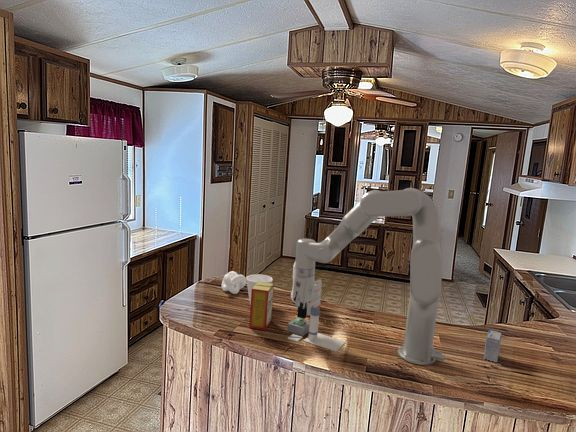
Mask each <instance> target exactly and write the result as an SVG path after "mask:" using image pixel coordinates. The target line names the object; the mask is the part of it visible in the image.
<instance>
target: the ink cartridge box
mask: <svg viewBox="0 0 576 432" xmlns="http://www.w3.org/2000/svg"><path fill="white" fill-rule="evenodd" d="M322 281H323V280H322V279H317V280H315V295H314V298H313V299H311V300H310V301H308V307H306V308H307V316H308V317H310V310H311V308H314V307H315V308H319V309H320V308H321V301H322V300H321V297H322V288H323V287H322V286H323V285H322ZM320 310H321V309H320Z"/></svg>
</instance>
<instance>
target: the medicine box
mask: <svg viewBox="0 0 576 432" xmlns="http://www.w3.org/2000/svg"><path fill="white" fill-rule="evenodd" d="M502 337H503V334H502V333H501V332H498V331H496V330H492V329H491V330H488V333H487V335H486V339H485V346H484V352H483V360H485V359H487V360H486V361H488V360H490V361H489V362H491V361H494V362H493V363H495V362H497V363H498V360H499V355H500V348H501V343H502V342H501V340H502Z"/></svg>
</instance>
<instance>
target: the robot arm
mask: <svg viewBox="0 0 576 432" xmlns="http://www.w3.org/2000/svg"><path fill="white" fill-rule="evenodd" d="M408 216H409V217H410V216H411V217H412V247H411V251H410V255H409V257H410V258H409V260H410V261H409V266H410V267H409V273H410V274H409V275H410V276H409V277H410V278H409V281H410V282H409V285H410V286H409V289H410V293H409V299H408V305H407V306H408V307H407V314H406V321H405V322H406V323H405V332H404V337H403V338H404V339H403V345H401V346H400V347H399V348H397V349H398V350H397V352H398V356H399V357H400V359H402V360H404V361H406V362H409V363H410V364H414V365H419V366H429V365H432V364H434V363H435V362H436V359H437V360H439V361H443V362H445V359H446V355H445V354H443V351H440V350H436V349H435V345H434V338H435V337H434V335H435V329H436V321H437V316H438V307H439V301H440V298H441V296H442V285H443V284H442V282H443V281H442V279H443V277H442V276H443V273H442V271H443V269H442V268H443V263H442V262H443V259H442V257H443V256H442V250H441V243H440V242H441V241H440V237H441V235H440V232H441V231H440V216H439V211H438V208H437V205H436V204H435V202H434V200H433V199H432V198H431V196H429V195H428V194H427V193H425V192H423V191H421V189H420V190H419V189H417V188H414V187H407V188H404V189H399V190H398V189H397V190H379V189H372V190H369V191H367V192H365V193H364V194H363V195H362V196H361V198H360V200H359V201H358V202H357V203H356V204H355V205H354V206H353V207H352V208H351V209H350V210H349V211H348V212H347V213H346V214H345V215H344V216H343V217H342V219H341V221H340V223H339V224H338V226H337V227H336V228H335V229H334V230H333V231H331V233H330V234H328V236H327V237H326V238H325V239H323V240H322V241H321V242H317V241H315V240H314V239H312V238H300V239H298V240H297V241H296V246H295V247H296V249H295V261H296V262H295V261H294V263H295V282H294V289H293V288H292V289H293V300H292V302H293V301H296V302H294V306H295V307H296V308H297V317H296V318H303V319H304V320H305V319H306V318H307V316H308V315H307V308H306V307H308V301H310V300H311V299H313V298H314V295H315V281H316V280H315V279H316V278H315V275H316V274H315V273H316V272H315V271H316V270H315V269H316V263H317V262H318V263H320V264H328V263H330V262H331V261H332V260H334V259H335V257H336V256H337V255H338V254H339V253H340V252H342V250H344V249H345V248H346V247H347V246H348V245H349V244H350V243H351V242H352V241H353V240H354V239H355V238H357V237H358V236H360V235H361V234H362V233H363V232H364V231H365V230H366V229H367V228H368V227H369V226H370V225H371V224H372V223H373V222H374V221H376V220H377V218H381V217H382V218H383V217H384V218H385V217H408Z"/></svg>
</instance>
